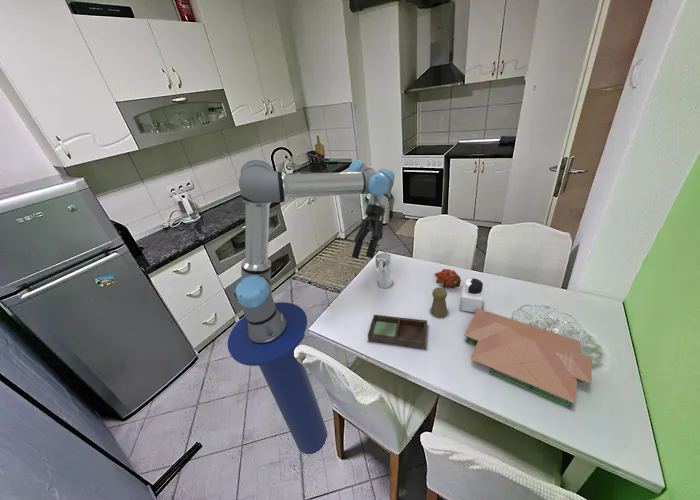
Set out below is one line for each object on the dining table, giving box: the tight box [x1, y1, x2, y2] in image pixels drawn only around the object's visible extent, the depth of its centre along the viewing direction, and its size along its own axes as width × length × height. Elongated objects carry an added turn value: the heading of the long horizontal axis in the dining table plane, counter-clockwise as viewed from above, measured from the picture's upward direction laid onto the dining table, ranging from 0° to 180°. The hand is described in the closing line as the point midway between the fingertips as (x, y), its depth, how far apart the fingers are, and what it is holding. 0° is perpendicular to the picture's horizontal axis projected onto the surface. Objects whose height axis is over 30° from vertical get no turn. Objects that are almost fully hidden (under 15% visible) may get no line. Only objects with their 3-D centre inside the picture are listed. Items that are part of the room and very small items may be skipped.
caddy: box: [367, 314, 428, 350], centre depth 101 cm, size 20×10×3 cm, turn 73°
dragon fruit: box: [434, 268, 462, 289], centre depth 119 cm, size 8×8×12 cm
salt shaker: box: [430, 286, 448, 319], centre depth 105 cm, size 6×6×11 cm
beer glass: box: [375, 252, 393, 289], centre depth 124 cm, size 7×7×15 cm
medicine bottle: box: [460, 277, 485, 314], centre depth 105 cm, size 7×7×12 cm
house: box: [464, 308, 593, 407], centre depth 85 cm, size 23×33×8 cm
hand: (361, 257), depth 107 cm, fingers open, 13 cm apart
